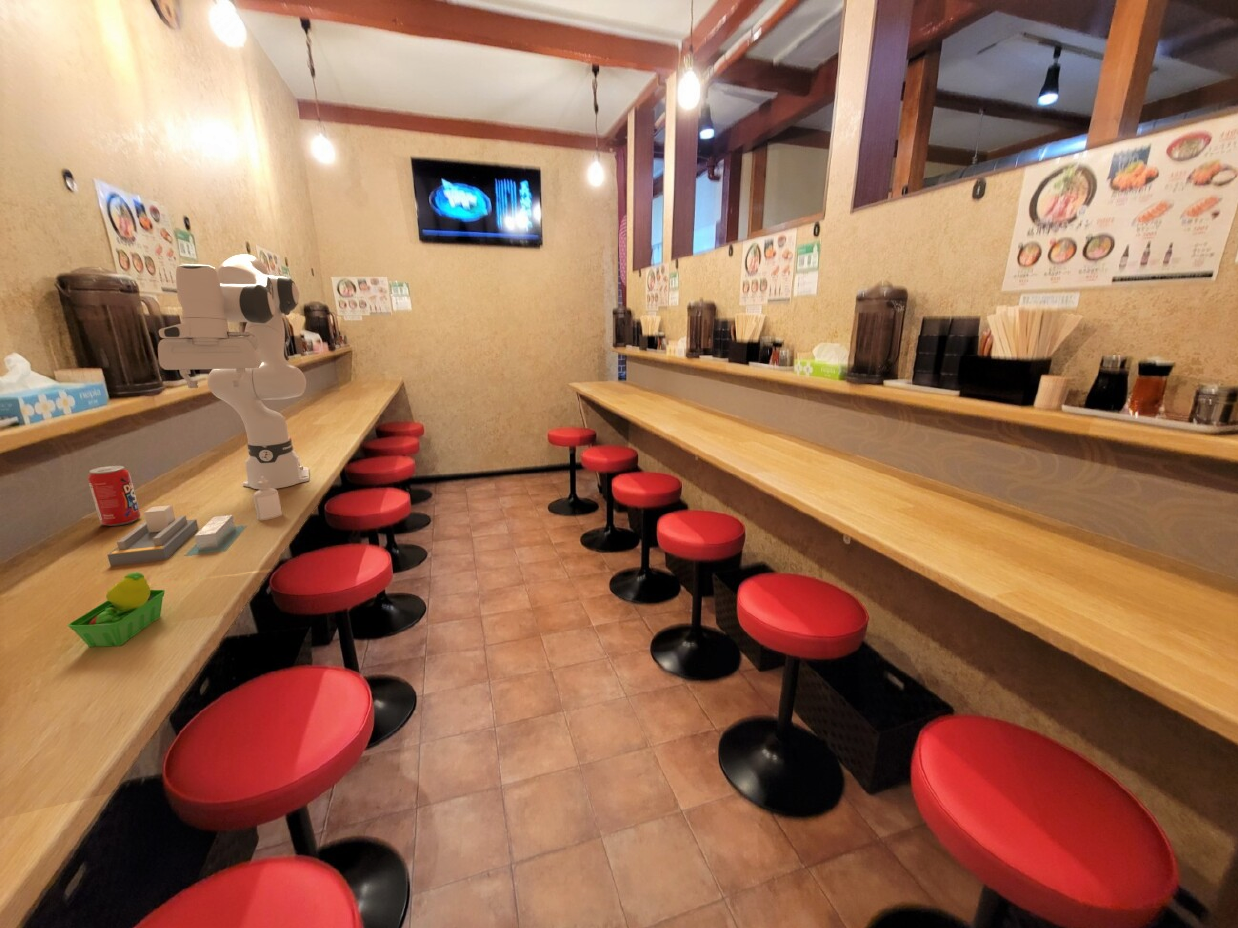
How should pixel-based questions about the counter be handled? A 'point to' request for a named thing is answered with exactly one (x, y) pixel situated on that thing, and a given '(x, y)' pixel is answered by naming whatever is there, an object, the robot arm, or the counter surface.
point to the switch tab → (159, 518)
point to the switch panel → (152, 542)
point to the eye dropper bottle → (266, 501)
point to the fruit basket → (120, 613)
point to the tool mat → (223, 547)
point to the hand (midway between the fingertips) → (216, 387)
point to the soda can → (113, 495)
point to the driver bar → (215, 532)
